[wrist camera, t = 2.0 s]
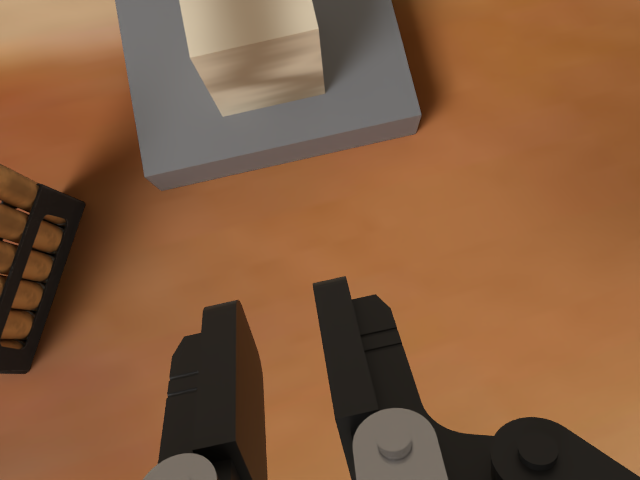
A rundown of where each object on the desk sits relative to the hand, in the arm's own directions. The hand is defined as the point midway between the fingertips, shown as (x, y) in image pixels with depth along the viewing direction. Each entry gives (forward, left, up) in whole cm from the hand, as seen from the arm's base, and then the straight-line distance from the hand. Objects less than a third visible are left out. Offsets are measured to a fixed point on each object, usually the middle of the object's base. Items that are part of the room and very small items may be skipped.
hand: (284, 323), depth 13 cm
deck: (0, -17, -22) cm, 28 cm away
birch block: (0, -16, -19) cm, 25 cm away
